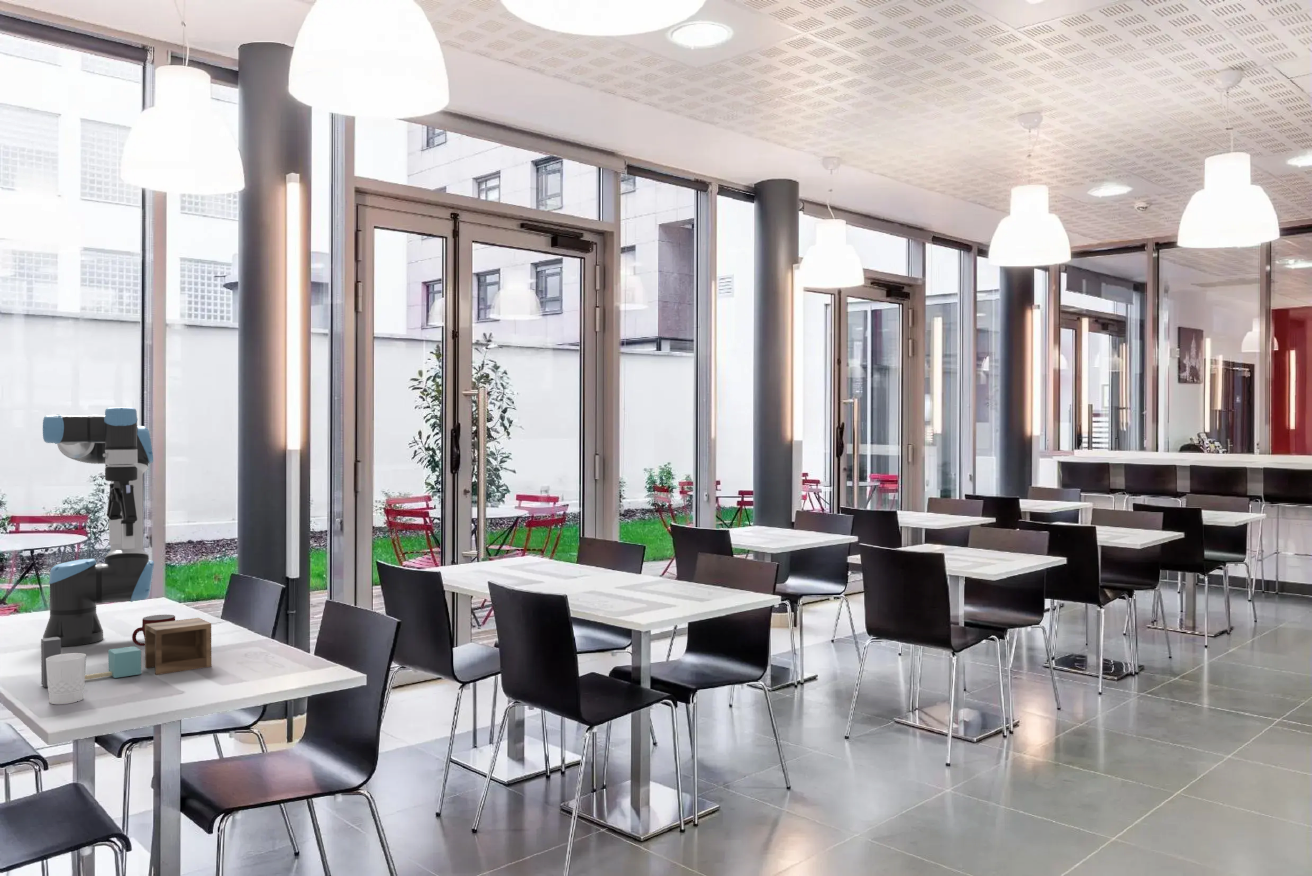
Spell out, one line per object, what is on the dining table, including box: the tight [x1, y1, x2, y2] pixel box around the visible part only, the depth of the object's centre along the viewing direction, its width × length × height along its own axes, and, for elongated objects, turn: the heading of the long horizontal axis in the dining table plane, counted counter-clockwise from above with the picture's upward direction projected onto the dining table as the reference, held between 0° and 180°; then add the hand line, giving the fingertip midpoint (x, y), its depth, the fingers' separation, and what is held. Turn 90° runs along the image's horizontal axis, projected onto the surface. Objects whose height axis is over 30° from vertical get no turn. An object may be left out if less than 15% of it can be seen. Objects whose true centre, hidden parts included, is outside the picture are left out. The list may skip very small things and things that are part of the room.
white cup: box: [46, 652, 87, 705], centre depth 226 cm, size 8×8×10 cm
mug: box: [131, 614, 176, 647], centre depth 272 cm, size 10×8×10 cm
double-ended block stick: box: [40, 637, 142, 688], centre depth 245 cm, size 6×21×11 cm, turn 131°
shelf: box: [144, 617, 213, 676], centre depth 258 cm, size 10×13×11 cm
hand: (121, 546), depth 263 cm, fingers open, 13 cm apart
